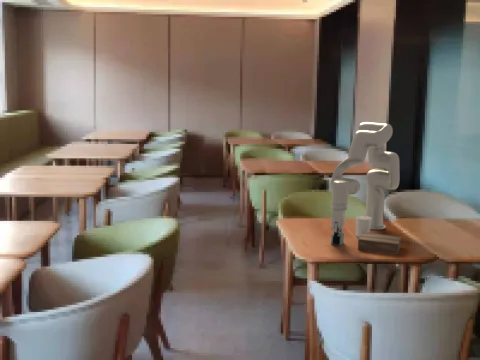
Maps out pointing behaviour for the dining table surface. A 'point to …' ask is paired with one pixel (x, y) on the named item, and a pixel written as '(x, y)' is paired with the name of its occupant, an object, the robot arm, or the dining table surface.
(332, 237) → the teal block
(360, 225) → the white cup
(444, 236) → the dining table surface
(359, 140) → the robot arm
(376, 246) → the walnut riser
